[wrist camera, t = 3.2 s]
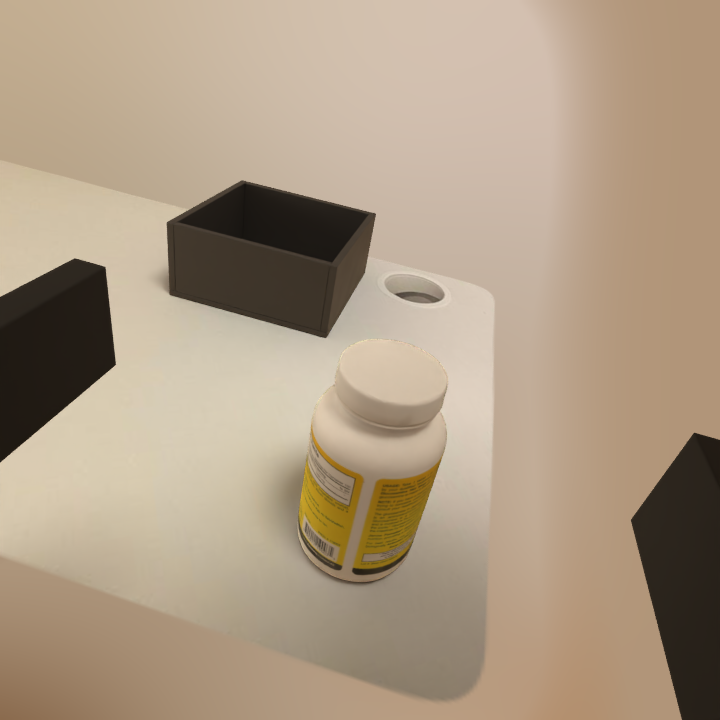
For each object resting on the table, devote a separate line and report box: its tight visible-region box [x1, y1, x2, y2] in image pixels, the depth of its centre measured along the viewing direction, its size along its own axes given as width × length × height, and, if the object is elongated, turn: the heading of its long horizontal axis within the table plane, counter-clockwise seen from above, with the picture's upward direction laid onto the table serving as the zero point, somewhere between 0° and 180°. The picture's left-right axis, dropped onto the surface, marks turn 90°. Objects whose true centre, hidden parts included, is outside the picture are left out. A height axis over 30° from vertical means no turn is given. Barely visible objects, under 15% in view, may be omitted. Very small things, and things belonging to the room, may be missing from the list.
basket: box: [167, 181, 376, 338], centre depth 48 cm, size 14×14×6 cm
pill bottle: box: [298, 339, 448, 582], centre depth 25 cm, size 6×6×11 cm
